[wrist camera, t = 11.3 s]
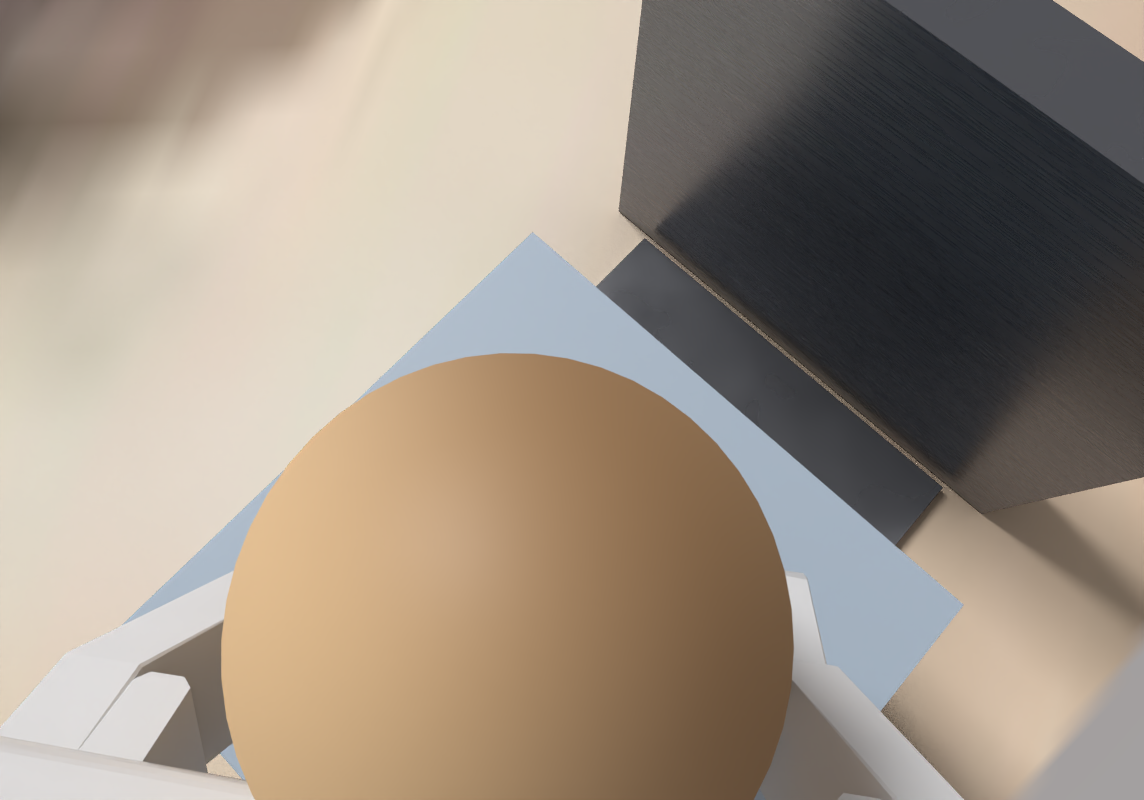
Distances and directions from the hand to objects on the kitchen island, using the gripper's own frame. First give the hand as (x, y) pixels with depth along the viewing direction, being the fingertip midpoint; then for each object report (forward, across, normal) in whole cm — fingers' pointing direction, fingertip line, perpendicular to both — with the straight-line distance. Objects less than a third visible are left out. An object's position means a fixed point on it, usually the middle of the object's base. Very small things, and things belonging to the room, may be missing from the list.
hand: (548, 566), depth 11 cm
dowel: (+4, 0, +5) cm, 6 cm away
